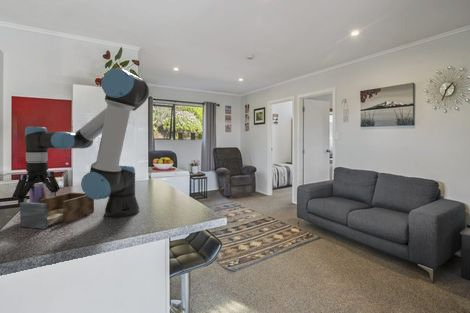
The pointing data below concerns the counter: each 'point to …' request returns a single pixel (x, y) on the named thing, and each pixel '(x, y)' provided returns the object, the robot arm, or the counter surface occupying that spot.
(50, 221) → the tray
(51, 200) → the caddy
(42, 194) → the beverage can
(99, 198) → the robot arm
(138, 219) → the counter surface
